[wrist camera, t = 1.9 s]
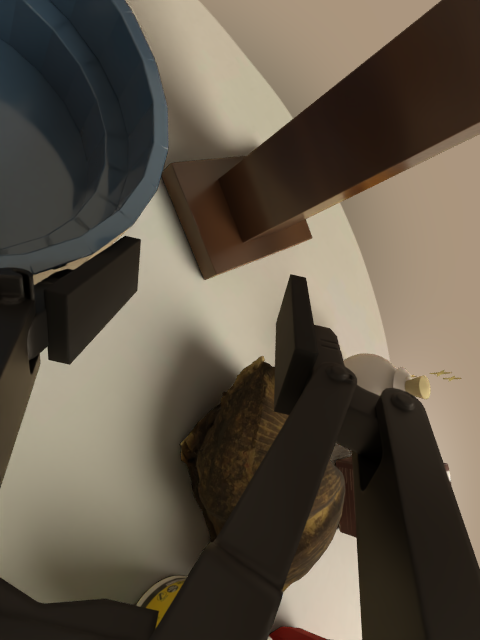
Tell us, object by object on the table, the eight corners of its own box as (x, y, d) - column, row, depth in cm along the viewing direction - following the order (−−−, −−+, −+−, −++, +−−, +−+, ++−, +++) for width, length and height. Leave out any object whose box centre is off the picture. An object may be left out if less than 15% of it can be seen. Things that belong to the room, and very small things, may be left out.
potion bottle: (310, 366, 32) (425, 358, 24) (354, 345, 36) (461, 333, 29) (327, 432, 32) (447, 444, 24) (369, 402, 36) (480, 405, 29)
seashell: (321, 536, 28) (394, 589, 22) (225, 611, 24) (281, 701, 18) (262, 344, 27) (320, 343, 21) (150, 389, 23) (182, 404, 17)
